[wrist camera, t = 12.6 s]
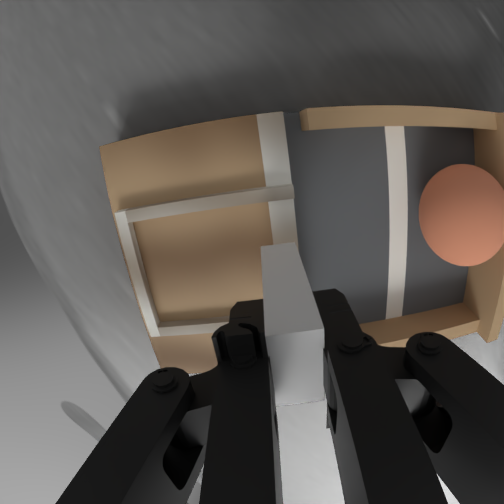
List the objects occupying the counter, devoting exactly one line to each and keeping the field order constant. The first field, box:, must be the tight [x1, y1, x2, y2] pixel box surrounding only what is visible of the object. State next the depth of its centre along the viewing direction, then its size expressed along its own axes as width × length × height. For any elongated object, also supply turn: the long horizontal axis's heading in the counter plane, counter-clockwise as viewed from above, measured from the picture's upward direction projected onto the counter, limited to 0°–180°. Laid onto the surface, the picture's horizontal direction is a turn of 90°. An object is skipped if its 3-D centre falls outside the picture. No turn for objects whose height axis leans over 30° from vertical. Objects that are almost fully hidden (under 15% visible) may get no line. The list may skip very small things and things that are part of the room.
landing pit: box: [283, 105, 504, 347], centre depth 16 cm, size 14×13×4 cm
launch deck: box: [99, 111, 299, 374], centre depth 17 cm, size 14×9×3 cm, turn 8°
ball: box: [419, 164, 504, 266], centre depth 14 cm, size 5×5×5 cm
